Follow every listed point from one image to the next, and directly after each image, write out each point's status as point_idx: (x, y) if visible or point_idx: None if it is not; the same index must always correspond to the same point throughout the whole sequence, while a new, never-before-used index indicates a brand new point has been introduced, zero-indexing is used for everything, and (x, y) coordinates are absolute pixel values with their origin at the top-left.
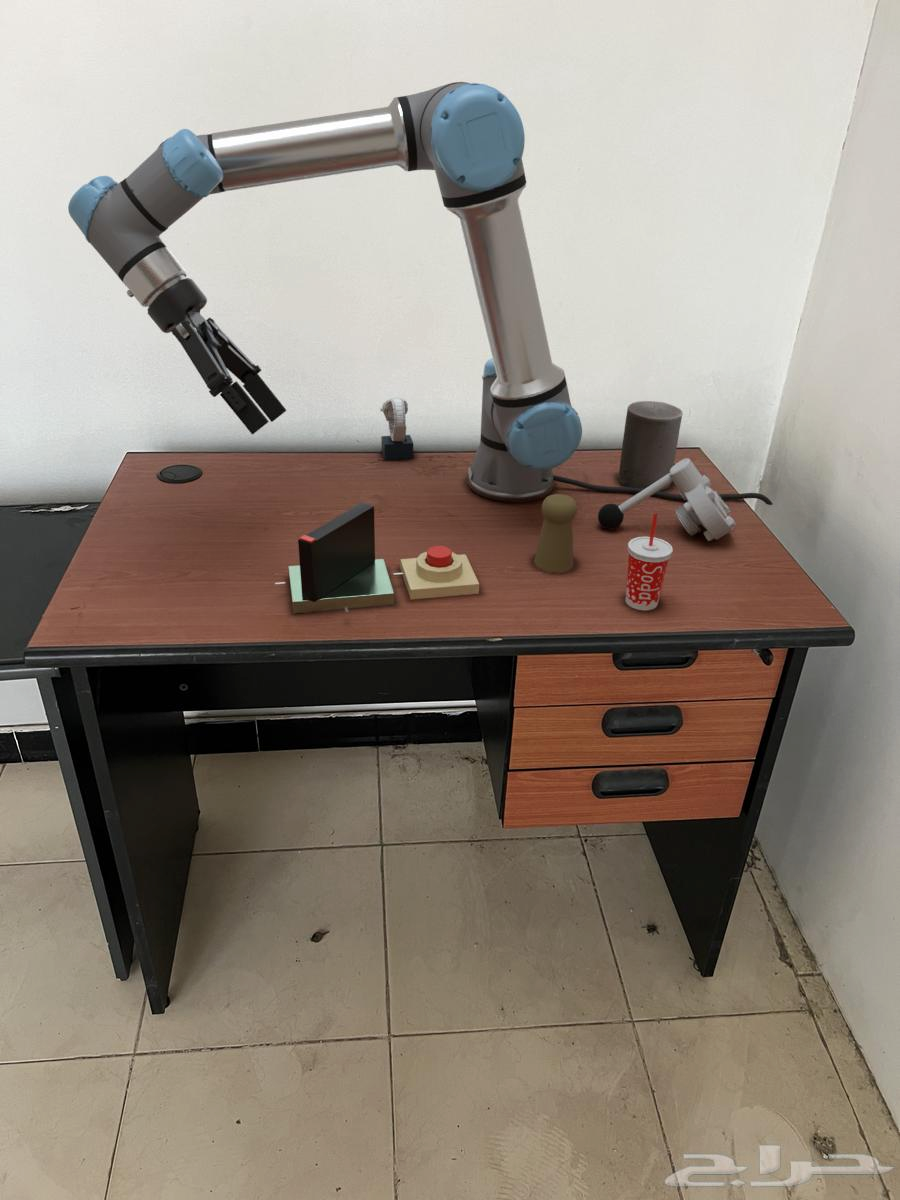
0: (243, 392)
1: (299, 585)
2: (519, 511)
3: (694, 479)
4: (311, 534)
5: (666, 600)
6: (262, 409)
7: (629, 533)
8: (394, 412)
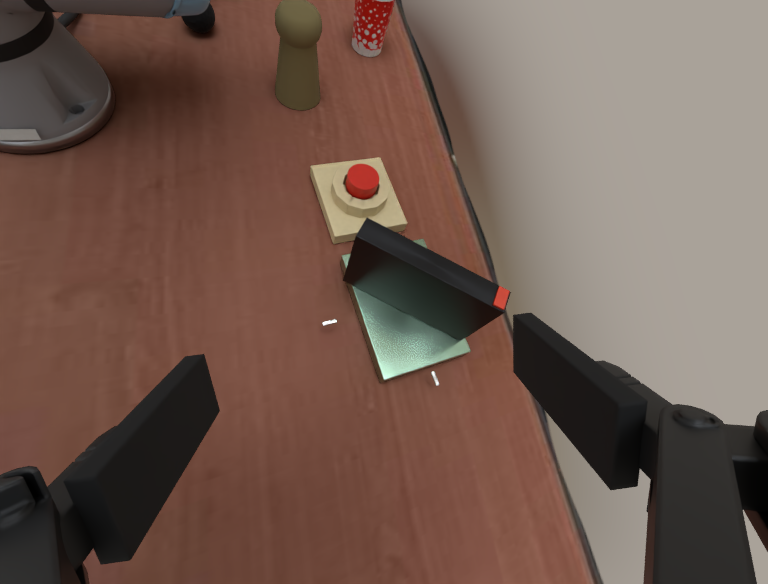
0: (603, 370)
1: (432, 351)
2: (145, 104)
3: None
4: (483, 296)
5: None
6: (198, 443)
7: (216, 17)
8: None
